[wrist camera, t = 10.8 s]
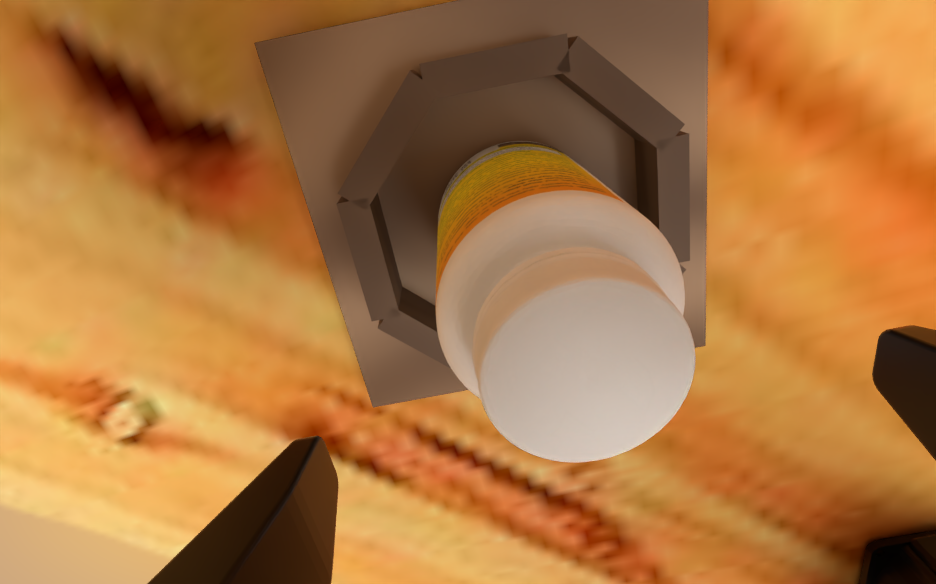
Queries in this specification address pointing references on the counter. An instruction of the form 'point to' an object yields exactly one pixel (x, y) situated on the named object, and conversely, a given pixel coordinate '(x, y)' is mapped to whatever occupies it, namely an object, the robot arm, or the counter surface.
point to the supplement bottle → (559, 305)
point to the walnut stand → (483, 143)
